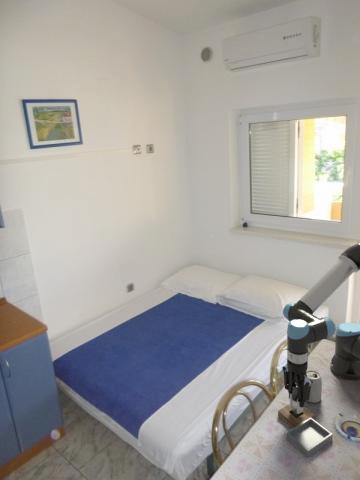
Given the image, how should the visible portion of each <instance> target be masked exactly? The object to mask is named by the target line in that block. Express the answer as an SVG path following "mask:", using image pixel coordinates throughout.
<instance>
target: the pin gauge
mask: <svg viewBox="0 0 360 480" xmlns="http://www.w3.org/2000/svg"><path fill="white" fill-rule="evenodd" d="M297 399H299V396H298V387H297V385H296V384H294V385H293V397H292V415H293V416H294V417H296V418H298V417H300V413H299V414H297Z"/></svg>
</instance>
